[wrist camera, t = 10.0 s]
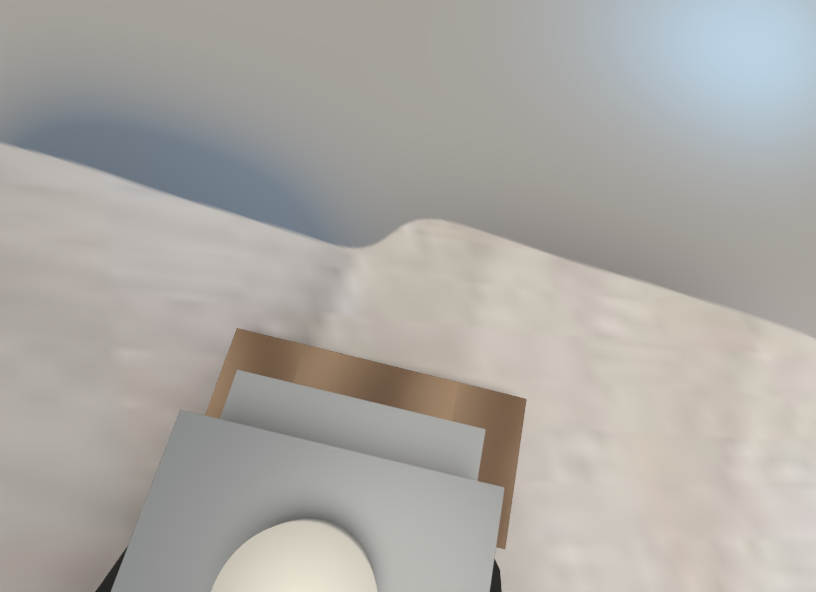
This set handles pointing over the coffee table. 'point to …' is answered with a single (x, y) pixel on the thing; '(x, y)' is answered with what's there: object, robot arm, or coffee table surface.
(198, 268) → the coffee table surface
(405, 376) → the walnut plate
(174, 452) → the block
